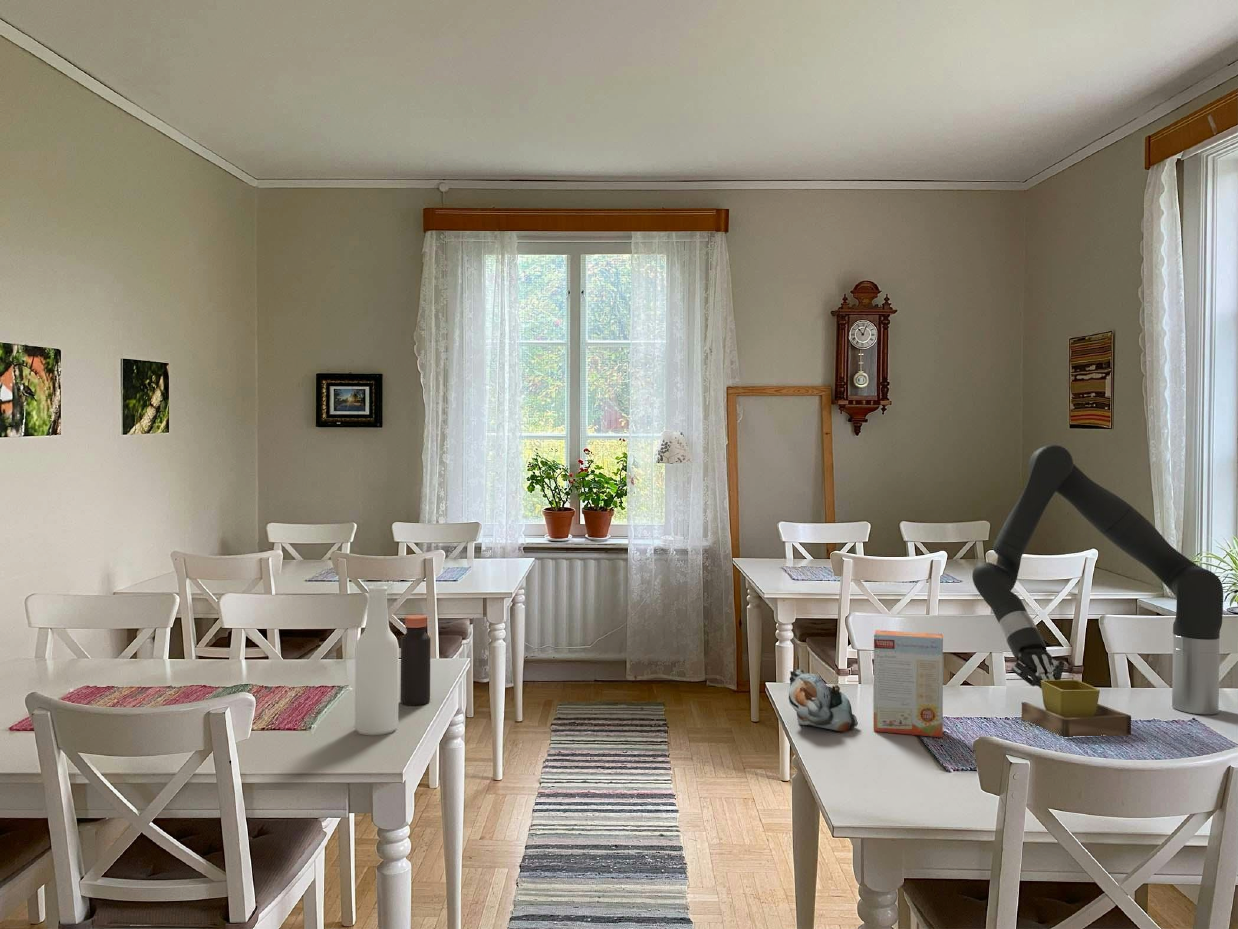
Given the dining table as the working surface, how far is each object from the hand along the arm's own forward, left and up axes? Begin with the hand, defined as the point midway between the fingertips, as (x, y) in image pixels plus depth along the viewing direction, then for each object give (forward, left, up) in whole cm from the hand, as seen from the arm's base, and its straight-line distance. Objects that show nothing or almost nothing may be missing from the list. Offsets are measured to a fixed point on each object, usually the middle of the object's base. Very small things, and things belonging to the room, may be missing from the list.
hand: (1055, 700), depth 206 cm
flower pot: (+3, +4, -4) cm, 7 cm away
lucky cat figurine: (+44, -31, -5) cm, 54 cm away
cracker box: (+33, -17, -5) cm, 38 cm away
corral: (+2, +4, -4) cm, 7 cm away
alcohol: (+118, -91, -4) cm, 149 cm away
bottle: (+100, -105, -4) cm, 145 cm away
